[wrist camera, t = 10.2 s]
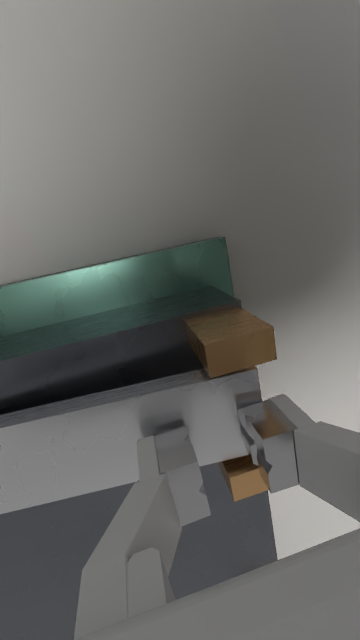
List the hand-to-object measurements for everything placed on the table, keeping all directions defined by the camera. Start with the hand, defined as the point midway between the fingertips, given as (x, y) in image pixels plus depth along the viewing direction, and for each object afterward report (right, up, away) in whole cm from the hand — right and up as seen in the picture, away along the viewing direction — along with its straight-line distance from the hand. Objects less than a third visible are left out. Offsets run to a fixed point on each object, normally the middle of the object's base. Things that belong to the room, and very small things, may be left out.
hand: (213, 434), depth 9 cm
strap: (-4, 0, +1) cm, 4 cm away
